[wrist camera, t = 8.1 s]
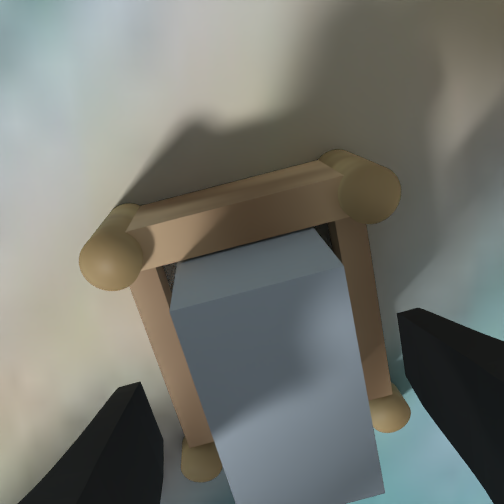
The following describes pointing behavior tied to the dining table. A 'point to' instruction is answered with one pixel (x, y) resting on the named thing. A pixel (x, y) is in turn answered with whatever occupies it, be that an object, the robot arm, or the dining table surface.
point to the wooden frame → (242, 232)
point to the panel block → (279, 370)
